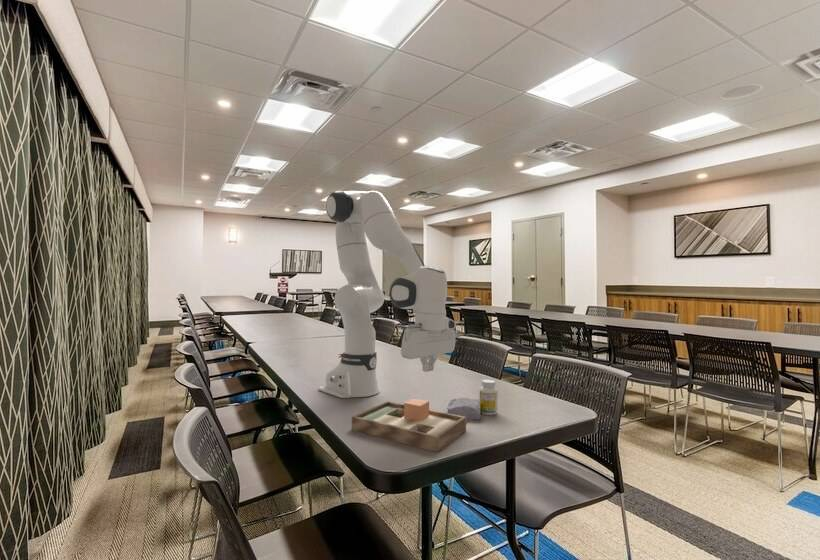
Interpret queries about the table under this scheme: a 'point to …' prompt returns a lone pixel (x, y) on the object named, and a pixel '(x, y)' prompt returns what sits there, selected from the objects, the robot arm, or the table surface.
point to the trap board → (410, 426)
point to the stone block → (465, 408)
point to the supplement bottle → (488, 398)
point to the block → (416, 409)
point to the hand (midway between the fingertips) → (428, 370)
